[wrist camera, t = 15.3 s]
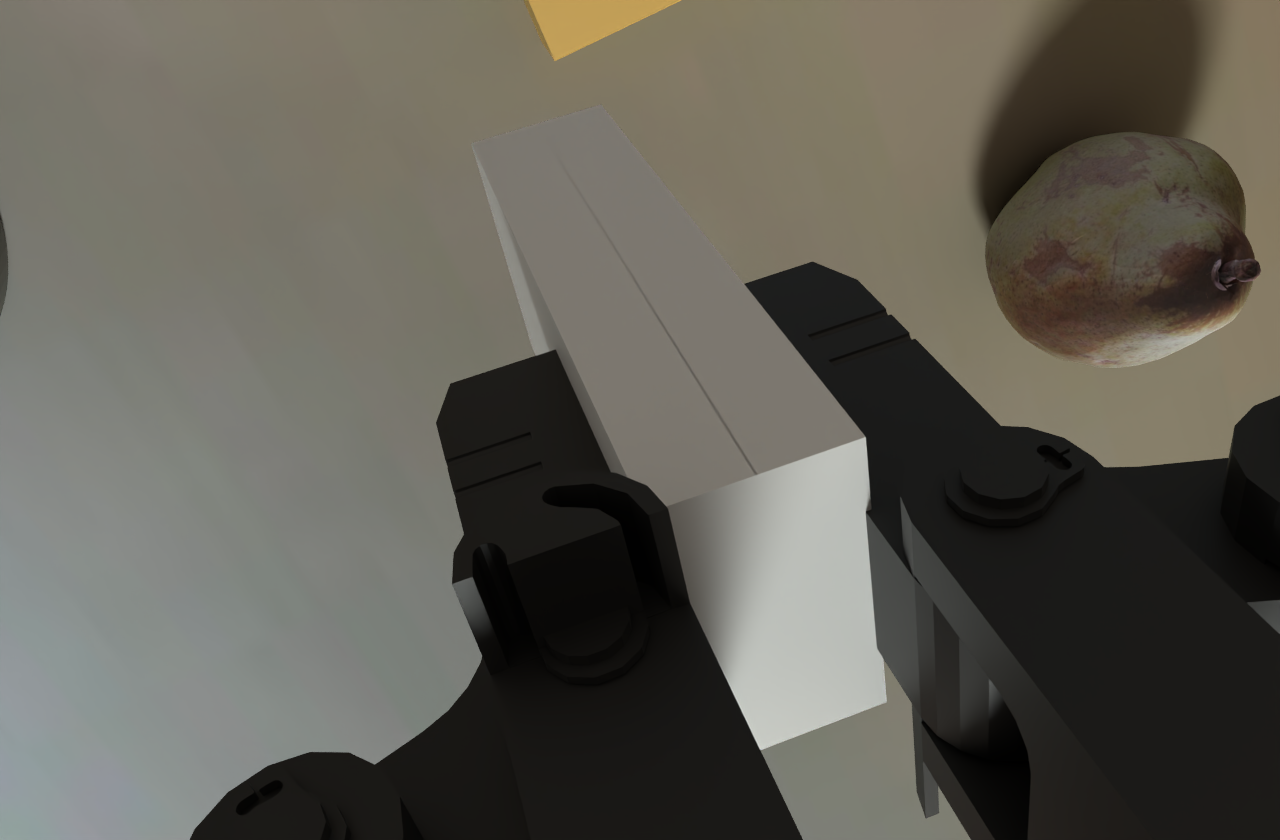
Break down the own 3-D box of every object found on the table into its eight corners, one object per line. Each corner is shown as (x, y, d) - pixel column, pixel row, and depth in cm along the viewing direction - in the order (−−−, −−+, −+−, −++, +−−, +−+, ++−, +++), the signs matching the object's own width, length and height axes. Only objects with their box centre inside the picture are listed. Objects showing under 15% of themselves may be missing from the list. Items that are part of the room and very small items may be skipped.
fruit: (1131, 57, 46) (1353, 162, 36) (1180, 222, 52) (1384, 350, 42) (922, 200, 47) (1083, 337, 38) (992, 346, 53) (1148, 497, 43)
